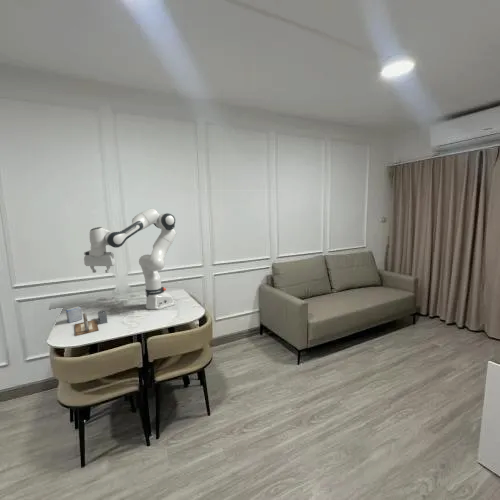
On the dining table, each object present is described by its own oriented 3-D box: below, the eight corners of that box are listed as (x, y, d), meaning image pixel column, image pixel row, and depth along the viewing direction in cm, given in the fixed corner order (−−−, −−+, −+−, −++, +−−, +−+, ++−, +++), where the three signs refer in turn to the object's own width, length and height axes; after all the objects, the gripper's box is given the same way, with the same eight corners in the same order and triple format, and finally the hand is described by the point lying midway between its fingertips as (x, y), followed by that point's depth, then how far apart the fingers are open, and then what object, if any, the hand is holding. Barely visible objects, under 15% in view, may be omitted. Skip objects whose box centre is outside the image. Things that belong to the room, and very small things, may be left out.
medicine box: (80, 318, 195) (78, 306, 194) (82, 319, 192) (80, 307, 191) (67, 321, 189) (65, 309, 188) (69, 323, 186) (67, 311, 185)
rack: (96, 320, 189) (94, 311, 188) (98, 330, 173) (97, 320, 172) (75, 325, 183) (73, 315, 182) (75, 336, 167) (74, 325, 166)
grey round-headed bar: (106, 316, 195) (105, 310, 195) (108, 322, 185) (107, 315, 185) (98, 318, 193) (97, 311, 192) (100, 324, 183) (99, 317, 182)
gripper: (116, 251, 187) (118, 271, 189) (88, 251, 190) (90, 271, 192) (110, 252, 181) (112, 273, 183) (81, 252, 184) (83, 273, 186)
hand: (100, 272), depth 188 cm, fingers open, 8 cm apart
